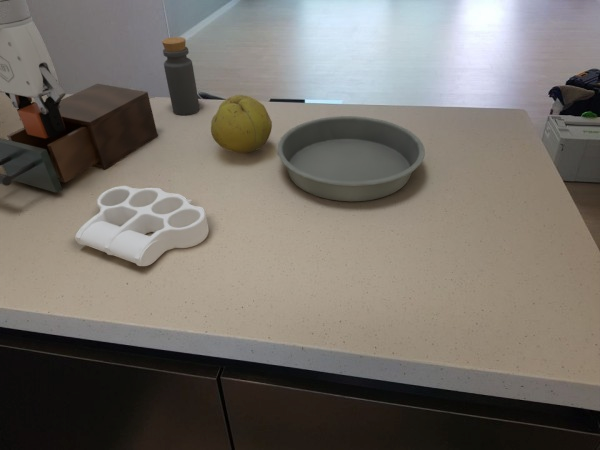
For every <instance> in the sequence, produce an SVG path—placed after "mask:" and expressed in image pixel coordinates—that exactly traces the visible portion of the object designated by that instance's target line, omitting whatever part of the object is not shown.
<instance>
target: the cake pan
mask: <svg viewBox="0 0 600 450" xmlns="http://www.w3.org/2000/svg"><path fill="white" fill-rule="evenodd" d="M276 151H277V155H278V157H279V159H280V161H281V162H282V164H283V166H285V167H286V170H287V173H288V174H287V175H288V176H289V178H290V180H291V182H293V183H294V184H295V185H296V186H297V187H298V188H300V189H301V190H303V191H304V192H307V193H308V194H311V195H313V196H316V197H319V198H322V199H326V200H331V201H337V202H366V201H373V200H377V199H381V198H384V197H388V196H390V195H392V194H395V193H396V192H398V191H399V190H401V189H402V188H403V187H404V186H406V184H407V183H408V182H409V180H410V179H411V176H412V174H413V172H414V171H416V169H418V167H420V166H421V164H422V162H423V161H424V159H425V155H426V150H425V145H424V144H423V142H422V140H421V139H420V138H419V137H418V136H417V135H416V134H415V133H413V132H412V131H411V130H408V129H407V128H405V127H403V126H401V125H399V124H396V123H393V122H391V121H387V120H383V119H379V118H373V117H367V116H355V115H340V116H327V117H322V118H316V119H312V120H309V121H306V122H303V123H301V124H298V125H296V126H294V127H292V128H291V129H289V130H288V131H286V133H284V134H283V135H282V136H281V137H280V139H279V140H278V143H277V147H276Z"/></svg>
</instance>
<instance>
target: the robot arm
mask: <svg viewBox="0 0 600 450" xmlns="http://www.w3.org/2000/svg"><path fill="white" fill-rule="evenodd" d="M55 68H56V67H55V66H54V63H53V60H52V58H51V55H50V53H49V50H48V48H47V45H46V43H45V41H44V39H43V37H42V35H41V33H40V31H39V29H38V27H37V26H36V24H35V22H34V20H33V16H32V13H31V11H30V8H29V5H28V2H27V0H0V92H1V93H4V94H5V95H6V97H8V98H9V99H10V101H11V105H12V106H13V107H14V108H15V109H16V111H17V113H18V110H20V109H22V108H24V107H26V106H29V105H31V104H33V103H37V105H38V107H39V109H40V111H41V112H42V113H40V114H39V115H40V118H41V120H42V123H43V126H44V128H45V131H46V133H47V136H49V137H53V136H55V135H57V134H59V133H61V132H63V131H65V126H64V123H63V120H62V117H61V115H60V112H59V109H58V108H60V104H59V103H60V101H61V100H62V99H64V97H65V96H66V91H65V90H64V89H63V87H62V86H61V85H60V84H59V78H58V74H57V71H56V69H55ZM44 96H46V98H45V100H44V98H43V97H44ZM32 98H33V99H34V101H33V99H32ZM18 115H19V113H18ZM19 117H20V115H19ZM20 121H21V123H22V124H23V122H22V120H21V119H20ZM23 128H25V127H24V126H23Z"/></svg>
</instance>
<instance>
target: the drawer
mask: <svg viewBox="0 0 600 450" xmlns="http://www.w3.org/2000/svg"><path fill="white" fill-rule="evenodd" d="M63 122H64V125H65V131H63V132H61V133H59V134H57V135H55V136H53V137H48V138H46V139H45V138H41V137H37V136H32V135H28V134H27V132H26V130H25V128H24V127H22V128H20V129H17V130H15V131H13V132H11V133H9V134H7V139H6V138H3V137H2V138H1V137H0V167H1V166H2V168H3V171H4V172H5V173H4V174H3V173H0V185H3V186H6V187H8V186H10V185H12V183H13V182H18V183H21V184H25V185H28V186H30V187H36V188H39V189H42V190H45V191H49V192H52V193H56V194H57V193H59V192H61V191H62V190H63V187H62V185H61V183H65V184H66V183H67V182H69V181H71V180H72V179H74V178H75V177H77V176H79V175H80V174H82V173H84V172H85V171H87V170H88V169H90V168H91V166H93V165H95V164H96V163H98V162H99V158H98V155H97V152H96V149H95V146H94V143H93V140H92V137H91V134H90V131H89V128H88V126H86V125H81V124H77V123H72V122H67V121H63Z"/></svg>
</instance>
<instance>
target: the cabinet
mask: <svg viewBox="0 0 600 450" xmlns="http://www.w3.org/2000/svg"><path fill="white" fill-rule="evenodd" d="M59 104H60V108H59V111H60V114H61V117H62V119H63V121H67V122H72V123H77V124H81V125H86V126H88V128H89V131H90V134H91V137H92V140H93V143H94V146H95V149H96V152H97V155H98V158H99V162H98V163H96V164H95V165H93V166H91V167H92V168H96V169H100V170H103V171H106V170H108V169H109V168H111V167H112V166H114V165H115V164H117V163H118V162H120V161H121V160H123V159H125V158H126V157H127V156H128V157H129V155H131V154H132V153H134V152H135V151H137V150H138V149H140V148H141V147H143V146H145V145H146V144H148V143H149V142H151V141H152V140H154V139H156V138H158V137H159V135H158V131H157V126H156V122H155V118H154V113H153V109H152V105H151V101H150V96H149V93H148V91H144V90H138V89H132V88H126V87H120V86H114V85H109V84H102V83H95V84H93V85H90V86H89V87H87V88H84V89H82V90H80V91H78V92H75V93H73V94H71V95H69V96H66V97H65V98H64V97H63V98H62V99H61V101H60V103H59ZM91 167H90V168H91Z"/></svg>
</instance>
